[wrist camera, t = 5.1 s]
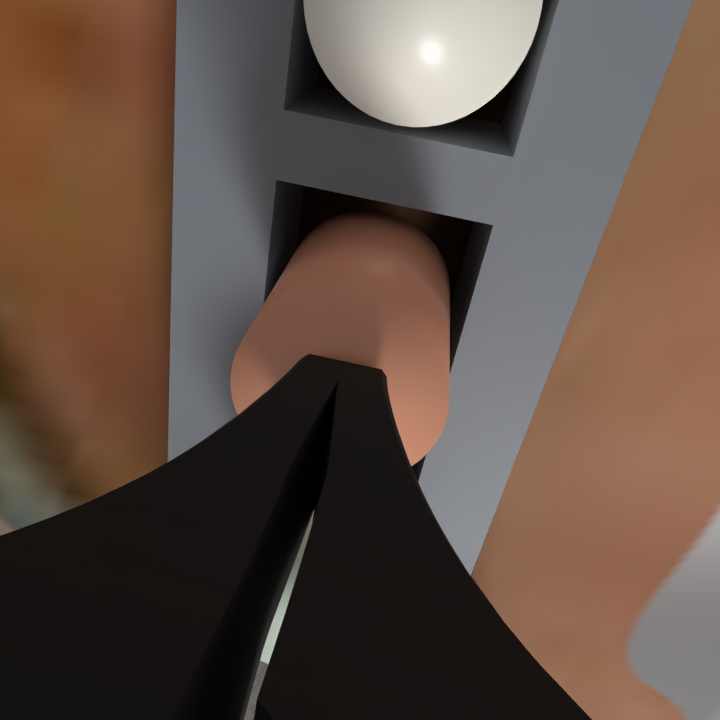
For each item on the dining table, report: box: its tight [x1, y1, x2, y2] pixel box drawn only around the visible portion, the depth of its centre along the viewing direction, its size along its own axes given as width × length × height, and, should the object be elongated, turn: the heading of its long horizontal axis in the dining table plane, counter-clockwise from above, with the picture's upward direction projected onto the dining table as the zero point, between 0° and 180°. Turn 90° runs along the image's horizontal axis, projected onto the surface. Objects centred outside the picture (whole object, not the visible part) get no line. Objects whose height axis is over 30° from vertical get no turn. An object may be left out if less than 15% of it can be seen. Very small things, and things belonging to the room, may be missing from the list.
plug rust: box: [230, 211, 450, 466], centre depth 13 cm, size 4×4×5 cm
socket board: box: [168, 0, 694, 576], centre depth 16 cm, size 9×21×4 cm, turn 170°
